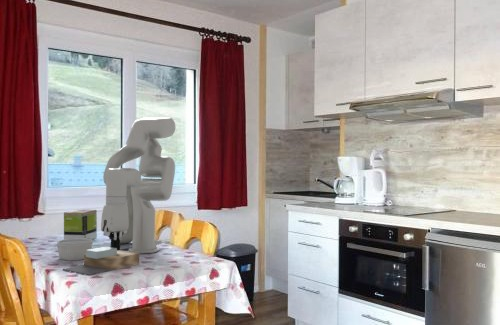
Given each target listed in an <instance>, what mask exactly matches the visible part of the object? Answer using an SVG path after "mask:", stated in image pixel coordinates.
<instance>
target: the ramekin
mask: <svg viewBox="0 0 500 325" xmlns="http://www.w3.org/2000/svg"><path fill="white" fill-rule="evenodd" d="M93 244H94V241H93V239H64V238H63V239H60V240H58V241H57V243H56V246H57V249H58V250H57V252H58V257H59V258H60V259H61V260H62V261H84V255H86V250H89V249H93V248H92V246H93Z"/></svg>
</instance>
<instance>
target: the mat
mask: <svg viewBox="0 0 500 325" xmlns="http://www.w3.org/2000/svg"><path fill="white" fill-rule="evenodd" d="M63 270H66V271H65V272H69V271H71V272H70V273H74V272H76V273H75V274H79V273H82V274H81V275H84V274H86V276H94V275H97V274H102V273H107V272H110V271H112V270H111V269H105V268H100V267H94V266H88V265H84V264H81V265H77V266H72V267H71V266H70V267H66V268H62V271H63Z"/></svg>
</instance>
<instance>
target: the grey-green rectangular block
mask: <svg viewBox="0 0 500 325" xmlns="http://www.w3.org/2000/svg"><path fill="white" fill-rule="evenodd" d="M114 255H117V248H113V247H111V246H101V247H95V248H91V249H89V250H86V257H89V258H95V259H99V258H104V257H109V256H114Z"/></svg>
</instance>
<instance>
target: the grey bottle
mask: <svg viewBox="0 0 500 325" xmlns="http://www.w3.org/2000/svg"><path fill="white" fill-rule="evenodd" d="M127 198H128V200H127V203H126V204H127V206H128V213H129V227H128V229H127V233H125V234H123V235H122V238H121V239H120V245H121V244H122V245H123V244H130V243H132V240H133V200H132V194H131V187H127Z"/></svg>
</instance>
